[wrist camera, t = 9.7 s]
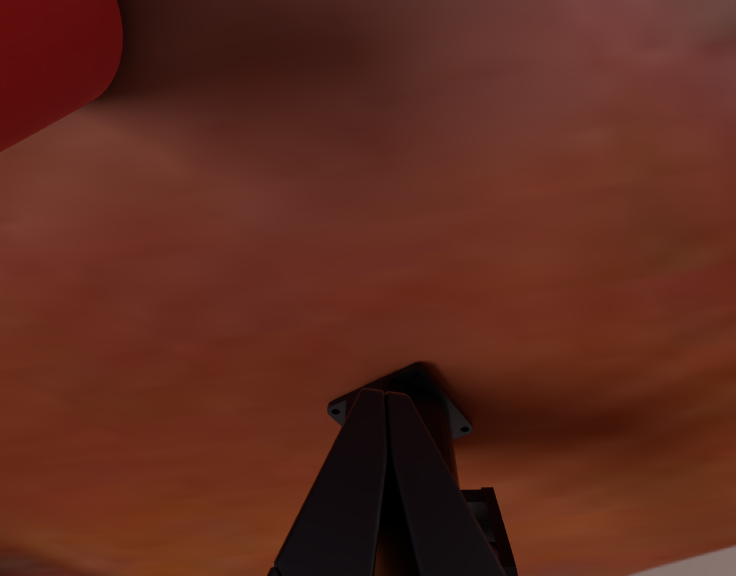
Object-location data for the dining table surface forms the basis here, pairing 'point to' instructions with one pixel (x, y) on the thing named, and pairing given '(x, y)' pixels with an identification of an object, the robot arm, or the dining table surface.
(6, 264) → the dining table surface
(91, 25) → the beverage can
